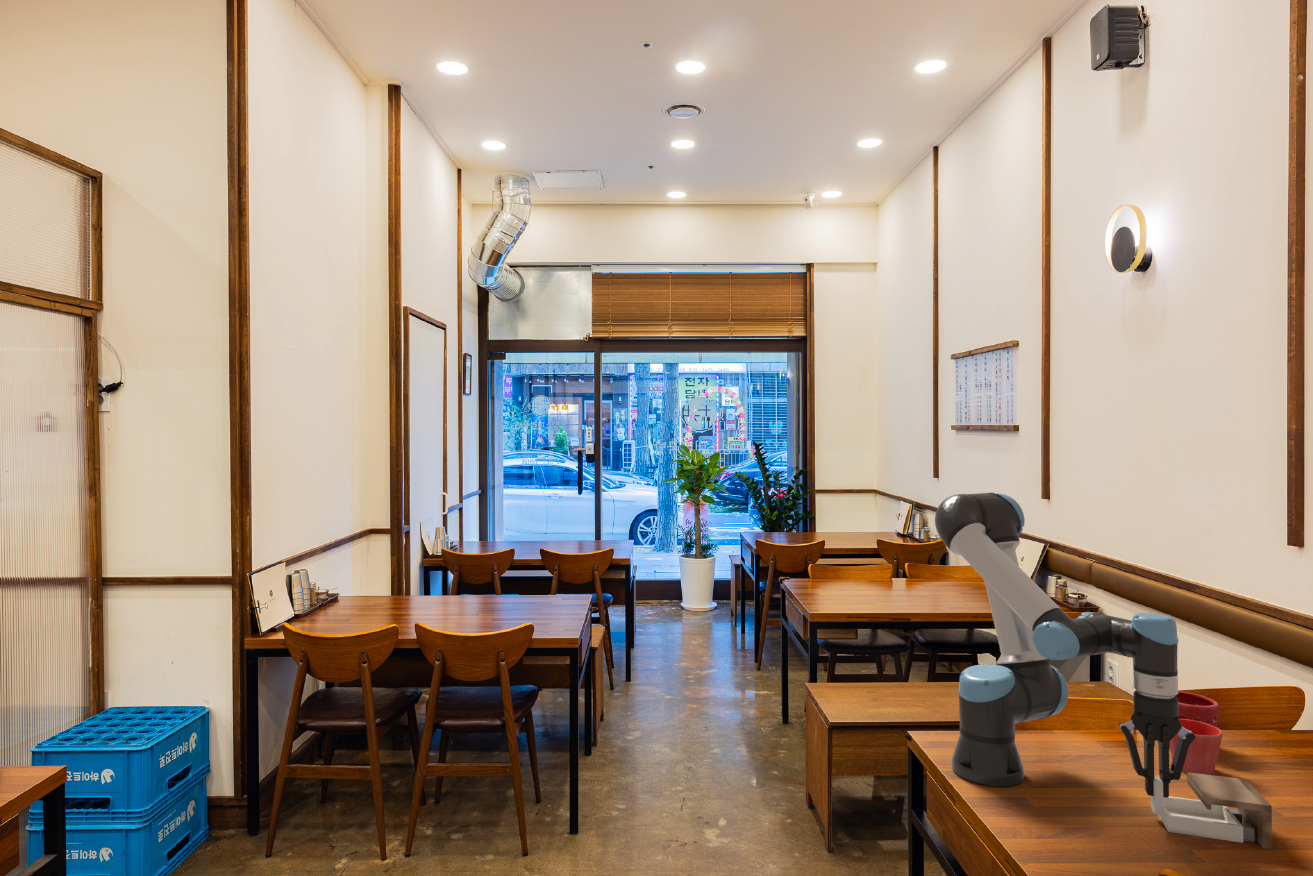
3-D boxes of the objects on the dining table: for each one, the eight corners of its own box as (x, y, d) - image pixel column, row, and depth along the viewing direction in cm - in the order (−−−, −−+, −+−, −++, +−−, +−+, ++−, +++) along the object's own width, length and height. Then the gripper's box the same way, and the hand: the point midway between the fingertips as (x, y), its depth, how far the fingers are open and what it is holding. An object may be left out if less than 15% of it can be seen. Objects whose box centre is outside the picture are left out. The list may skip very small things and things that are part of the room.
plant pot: (1203, 759, 180) (1202, 709, 181) (1144, 741, 192) (1143, 694, 192) (1229, 748, 187) (1228, 700, 187) (1171, 732, 198) (1171, 685, 199)
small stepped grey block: (1242, 840, 143) (1241, 827, 143) (1226, 821, 151) (1226, 808, 151) (1254, 842, 142) (1254, 829, 142) (1238, 822, 150) (1238, 810, 150)
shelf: (1208, 840, 143) (1207, 797, 143) (1187, 811, 154) (1186, 772, 155) (1272, 849, 140) (1271, 805, 140) (1246, 819, 151) (1245, 779, 151)
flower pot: (1225, 783, 168) (1224, 738, 168) (1166, 772, 174) (1165, 729, 174) (1220, 765, 177) (1220, 724, 177) (1164, 756, 183) (1163, 715, 183)
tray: (1168, 831, 146) (1168, 816, 146) (1154, 809, 156) (1154, 794, 156) (1243, 842, 142) (1243, 826, 142) (1224, 818, 152) (1224, 803, 152)
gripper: (1122, 695, 150) (1124, 815, 150) (1200, 702, 146) (1202, 826, 145) (1114, 684, 157) (1115, 799, 157) (1187, 690, 153) (1189, 808, 152)
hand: (1157, 812), depth 151 cm, fingers closed
